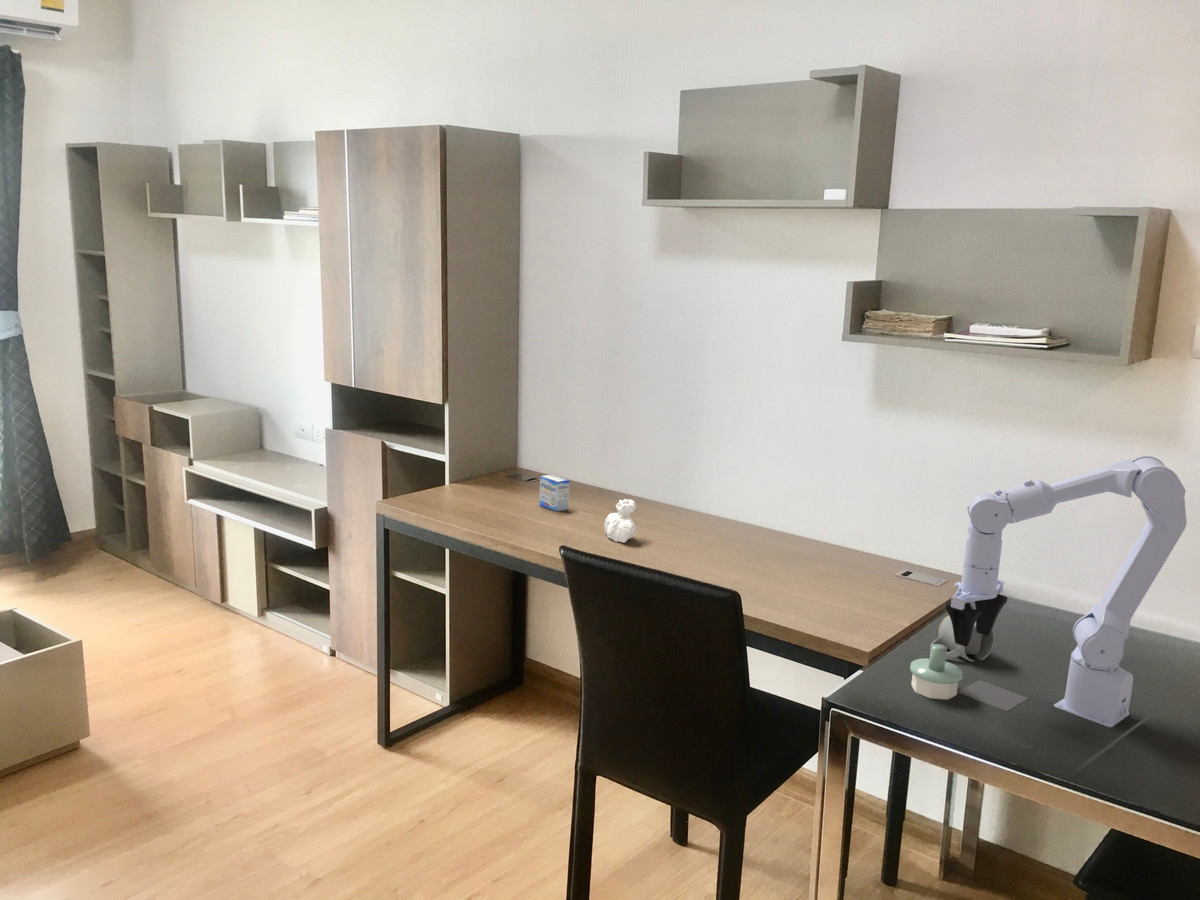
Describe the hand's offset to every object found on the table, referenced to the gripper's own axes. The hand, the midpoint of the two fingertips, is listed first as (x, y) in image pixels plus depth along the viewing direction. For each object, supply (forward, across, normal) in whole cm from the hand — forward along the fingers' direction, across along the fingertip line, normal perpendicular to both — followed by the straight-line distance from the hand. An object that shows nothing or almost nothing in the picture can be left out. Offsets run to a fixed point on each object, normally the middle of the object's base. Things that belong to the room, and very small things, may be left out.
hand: (972, 639), depth 173 cm
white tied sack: (+9, -12, -100) cm, 101 cm away
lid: (+6, +5, -4) cm, 9 cm away
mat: (+10, -2, +4) cm, 11 cm away
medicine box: (+9, -16, -132) cm, 134 cm away
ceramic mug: (+10, -14, -9) cm, 19 cm away
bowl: (+10, +5, -4) cm, 11 cm away
